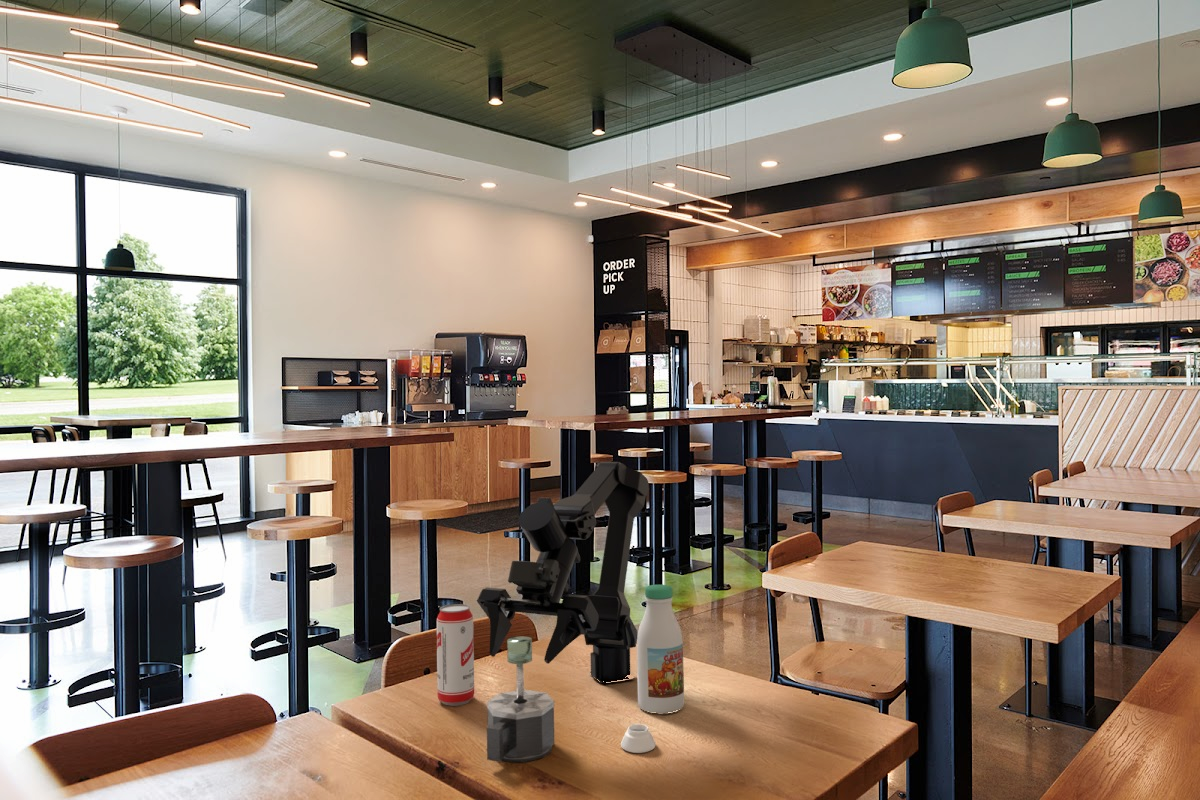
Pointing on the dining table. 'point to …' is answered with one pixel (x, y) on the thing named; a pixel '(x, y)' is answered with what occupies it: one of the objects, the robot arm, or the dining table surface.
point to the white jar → (638, 739)
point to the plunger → (519, 660)
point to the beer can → (455, 655)
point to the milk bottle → (660, 654)
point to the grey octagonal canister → (520, 727)
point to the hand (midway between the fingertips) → (518, 658)
